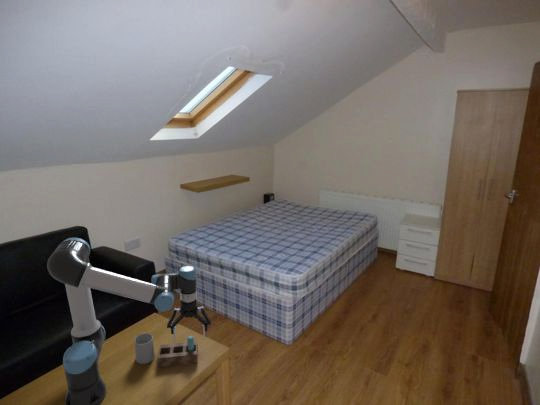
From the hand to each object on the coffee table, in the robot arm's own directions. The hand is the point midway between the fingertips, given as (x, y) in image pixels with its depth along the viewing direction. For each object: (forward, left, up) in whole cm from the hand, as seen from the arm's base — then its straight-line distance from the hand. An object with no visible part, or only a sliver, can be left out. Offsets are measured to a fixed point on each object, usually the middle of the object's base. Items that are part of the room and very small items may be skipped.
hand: (189, 337), depth 161 cm
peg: (0, 0, -11) cm, 11 cm away
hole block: (-6, 0, -11) cm, 12 cm away
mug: (-22, +5, -11) cm, 25 cm away
